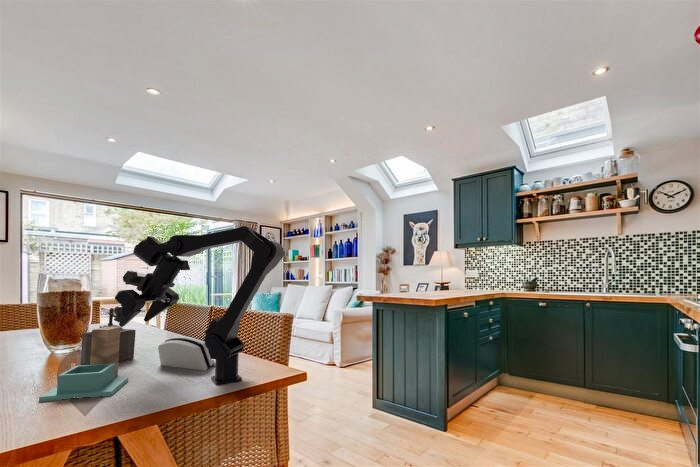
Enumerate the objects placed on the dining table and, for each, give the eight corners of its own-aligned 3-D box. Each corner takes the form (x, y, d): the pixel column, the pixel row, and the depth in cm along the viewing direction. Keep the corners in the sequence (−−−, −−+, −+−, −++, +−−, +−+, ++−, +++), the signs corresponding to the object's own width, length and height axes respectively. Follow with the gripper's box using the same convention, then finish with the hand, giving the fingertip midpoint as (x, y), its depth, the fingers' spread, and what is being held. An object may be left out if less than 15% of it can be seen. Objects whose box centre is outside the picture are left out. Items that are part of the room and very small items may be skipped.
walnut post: (117, 375, 97) (120, 326, 99) (105, 380, 93) (108, 329, 94) (101, 375, 98) (104, 326, 99) (88, 380, 93) (92, 329, 95)
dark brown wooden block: (76, 365, 108) (80, 304, 110) (110, 356, 119) (113, 301, 121) (116, 368, 104) (120, 306, 106) (147, 359, 115) (150, 302, 116)
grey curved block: (216, 365, 107) (209, 335, 105) (206, 375, 103) (198, 344, 100) (173, 361, 113) (166, 332, 110) (161, 370, 108) (153, 340, 106)
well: (127, 381, 92) (129, 361, 93) (111, 395, 82) (112, 373, 82) (64, 385, 89) (66, 365, 89) (38, 401, 78) (40, 378, 79)
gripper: (164, 260, 109) (136, 303, 109) (116, 259, 91) (83, 311, 91) (191, 280, 107) (163, 324, 107) (148, 283, 89) (114, 336, 89)
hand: (133, 323), depth 99 cm, fingers open, 9 cm apart
